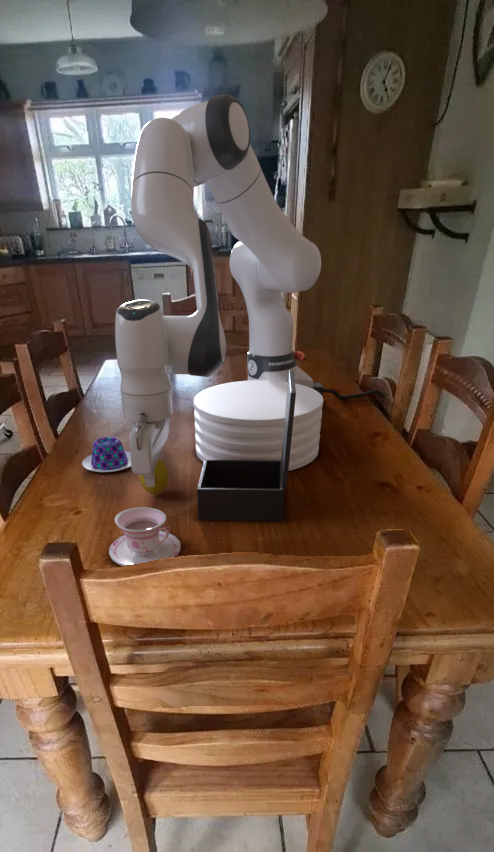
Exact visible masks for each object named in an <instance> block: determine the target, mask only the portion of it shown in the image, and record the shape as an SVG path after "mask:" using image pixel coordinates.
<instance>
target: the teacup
mask: <svg viewBox="0 0 494 852" xmlns="http://www.w3.org/2000/svg"><path fill="white" fill-rule="evenodd" d="M166 522H167V515H166V514H165V512H163V511H162V510H160V509H158V508H154V507H148V506H147V507H146V506H145V507H144V506H138V507H137V506H136V507H130V508H127V509H124V510H122V511H120V512H118V513H117V514H116V515H115V517H114V523H115V524H116V526H117V528H118V529H119V530H120V531H121V532H122V533H123V535H120V536H119V537H118V538H117V539H115V540H114V541H113V542H112V543H111V544H110V546H109V548H108V556H109V557H110V559H111V561H112V562H114V563H115V564H117V565H118V566H121V567H124V566H126V565H134V564H140V563H145V562H149V561H154V560H158V559H163V558H168V557H175V556H176V557H178V555H179V554H180V551H181V549H182V548H181V547H182V546H181V541H180V540H179V539H178V538H177V536H175V535H174V534H172V533H170V530H171V529H170V528H171V527H170V526H168V525H164V523H166ZM163 530H164V531H163ZM176 557H175V558H176Z"/></svg>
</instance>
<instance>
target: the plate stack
mask: <svg viewBox="0 0 494 852" xmlns="http://www.w3.org/2000/svg"><path fill="white" fill-rule="evenodd" d="M287 387H288V382H282V381H270V380H250V381H248V380H239V381H238V380H237V381H231V382H226V383H221V384H216V385H213V386H210V387H208V388H205V389H203V390H201V391H200V392H198V393H197V394H196V395H195V396H194V398H193V408H194V412H193V413H194V414H193V415H194V432H195V434H194V435H195V436H194V439H195V453H196V455H197V458H198V459H199V460H200V461H201V462H203V463H204V460H205V459H206V460H281V454H282V443H283V432H284V421H285V409H286V398H287ZM295 388H296V399H295V409H294V419H293V429H292V439H291V449H290V459H289V469H288V472H289V471H294V470H297V469H299V468H303V467H305V466H306V465H309V464H310V463H312V462H313V461H314V460H315V459H316V458H317V457H318V455H319V451H320V450H319V449H320V441H321V440H320V439H321V433H320V432H321V429H322V428H321V426H322V418H323V417H322V416H323V407H324V397H323V396H322V395H321V394H320V393H319V392H317V391H316V390H314V389H312V388H309V387H307V386H303V385H300V384H295Z"/></svg>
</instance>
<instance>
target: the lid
mask: <svg viewBox="0 0 494 852" xmlns="http://www.w3.org/2000/svg"><path fill="white" fill-rule="evenodd" d="M295 399H296V388H295V379H294V371H293V370H289V376H288V387H287V398H286V409H285V421H284V432H283V443H282V454H281V469H282V488H284V489H287V488H288V480H289V479H288V478H289V477H288V476H289V471H288V469H289V459H290V449H291V439H292V429H293V419H294V409H295Z"/></svg>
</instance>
